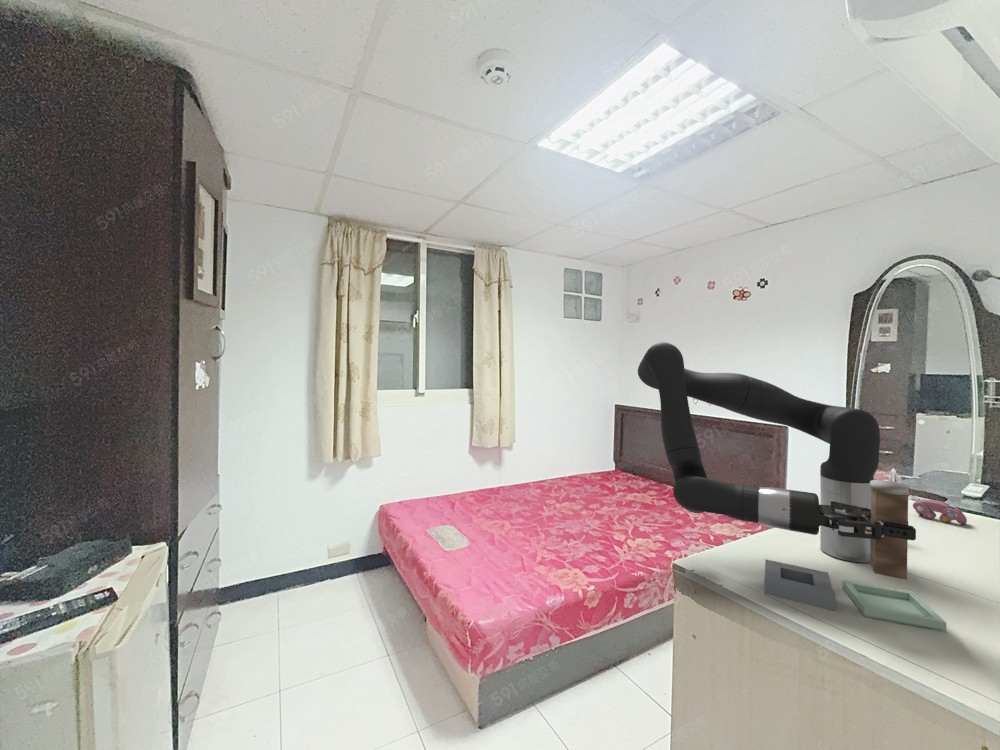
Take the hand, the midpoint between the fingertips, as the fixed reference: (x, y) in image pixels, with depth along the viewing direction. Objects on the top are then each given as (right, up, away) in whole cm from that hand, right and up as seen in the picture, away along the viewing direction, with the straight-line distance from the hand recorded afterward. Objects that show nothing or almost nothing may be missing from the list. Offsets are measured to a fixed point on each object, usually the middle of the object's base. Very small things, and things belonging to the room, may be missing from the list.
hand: (910, 529), depth 69 cm
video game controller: (+53, -15, +45) cm, 71 cm away
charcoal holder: (-14, -15, +8) cm, 21 cm away
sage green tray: (-2, -15, +2) cm, 15 cm away
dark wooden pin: (-2, -8, +2) cm, 8 cm away
